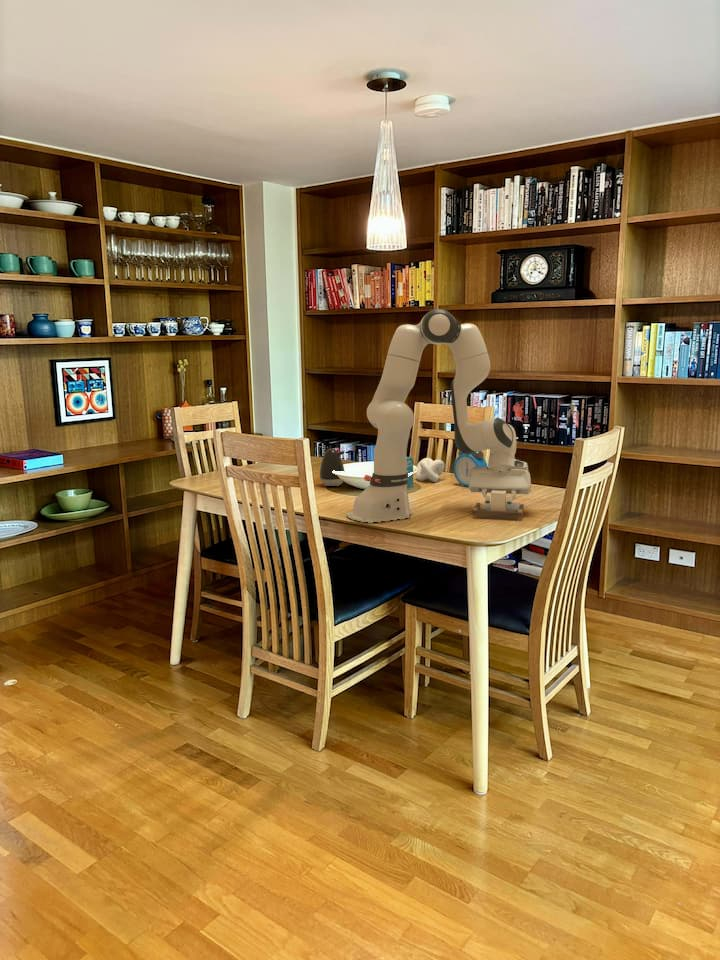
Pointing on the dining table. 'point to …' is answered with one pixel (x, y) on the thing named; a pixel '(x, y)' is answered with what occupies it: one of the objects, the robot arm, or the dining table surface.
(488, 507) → the grey mat
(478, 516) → the brown wooden tray
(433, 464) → the white decorative knot
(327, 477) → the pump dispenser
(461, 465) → the alarm clock
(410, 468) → the data package
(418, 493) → the dining table surface
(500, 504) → the cream block
